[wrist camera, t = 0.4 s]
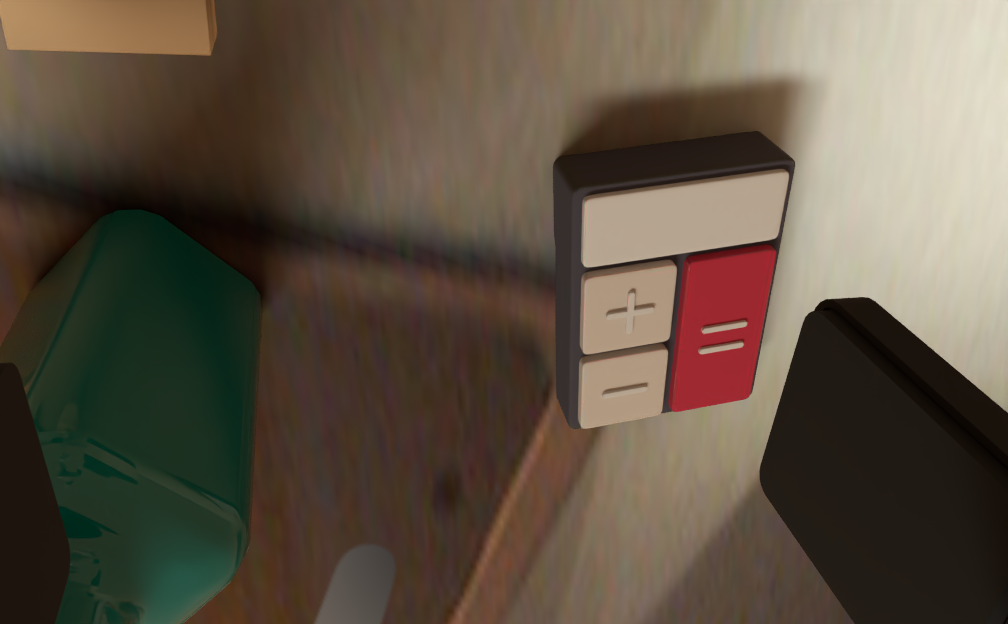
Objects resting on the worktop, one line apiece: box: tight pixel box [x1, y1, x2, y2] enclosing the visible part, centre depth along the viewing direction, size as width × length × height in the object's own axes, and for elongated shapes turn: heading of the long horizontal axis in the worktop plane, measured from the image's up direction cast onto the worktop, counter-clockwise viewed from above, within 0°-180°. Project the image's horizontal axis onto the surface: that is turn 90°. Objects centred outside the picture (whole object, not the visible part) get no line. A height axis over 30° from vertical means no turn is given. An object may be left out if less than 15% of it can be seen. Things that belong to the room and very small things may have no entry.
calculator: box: [553, 131, 795, 429], centre depth 43 cm, size 11×4×15 cm
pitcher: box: [0, 209, 262, 624], centre depth 29 cm, size 10×8×22 cm
